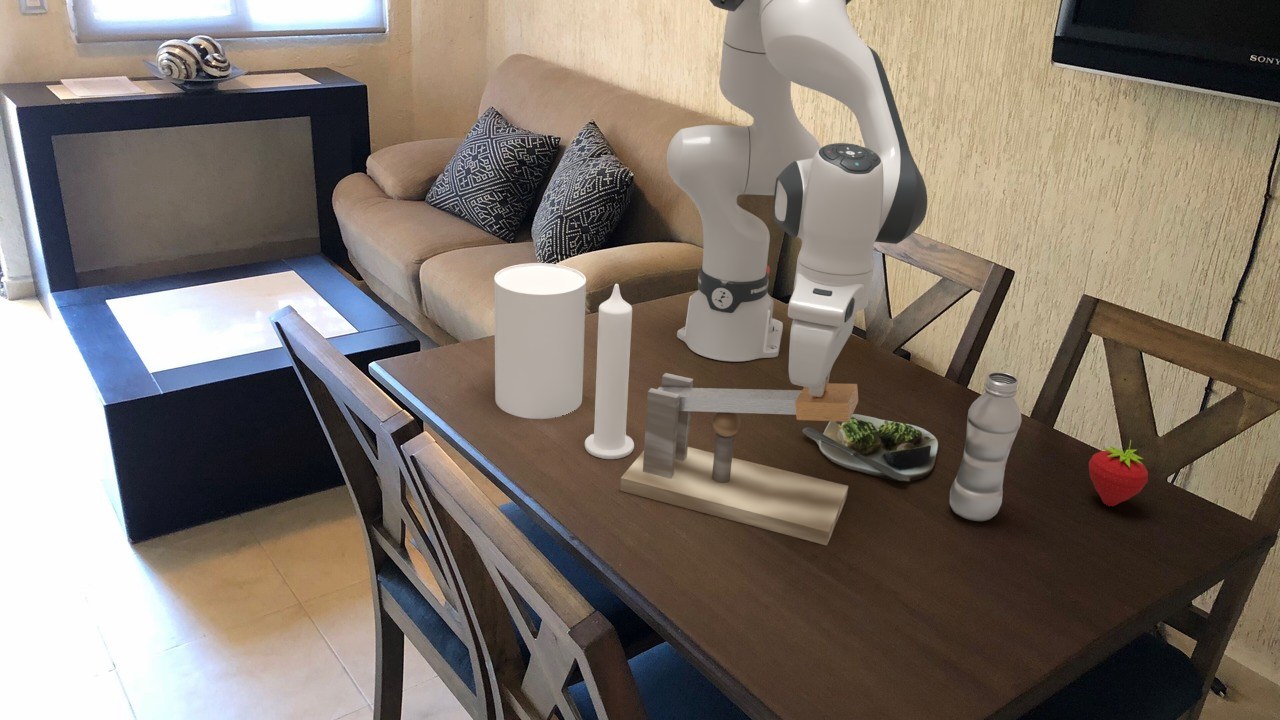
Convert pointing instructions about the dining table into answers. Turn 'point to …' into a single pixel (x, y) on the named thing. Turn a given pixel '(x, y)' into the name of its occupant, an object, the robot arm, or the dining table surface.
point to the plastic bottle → (986, 449)
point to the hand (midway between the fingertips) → (817, 391)
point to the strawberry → (1117, 475)
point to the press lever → (772, 401)
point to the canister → (539, 339)
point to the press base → (726, 475)
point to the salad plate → (878, 447)
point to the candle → (612, 380)
